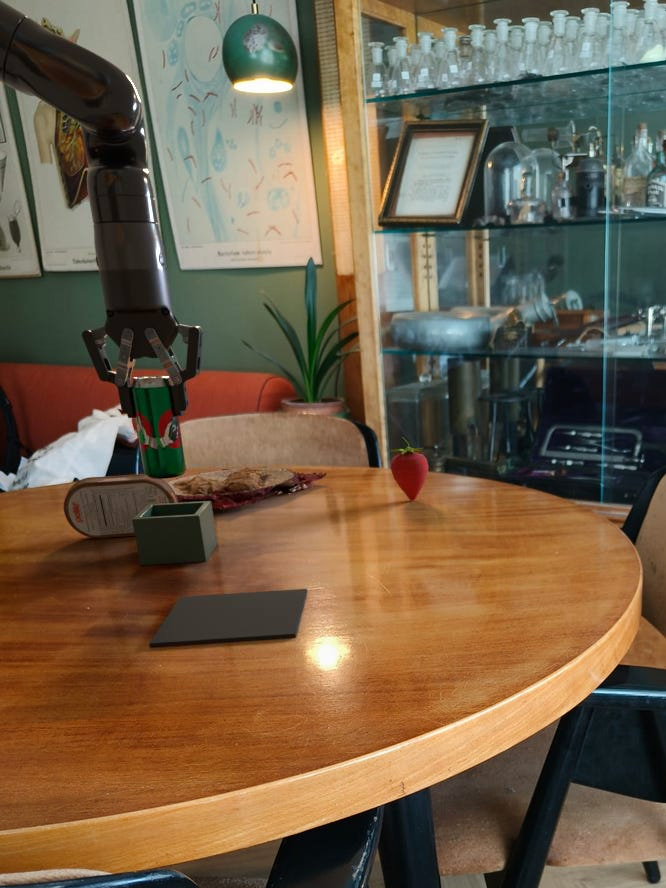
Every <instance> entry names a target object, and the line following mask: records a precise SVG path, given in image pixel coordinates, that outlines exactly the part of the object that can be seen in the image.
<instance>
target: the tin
mask: <svg viewBox="0 0 666 888" xmlns="http://www.w3.org/2000/svg"><path fill="white" fill-rule="evenodd" d="M164 503H178V500H177V496H176V494H175V492H174V490H173V489H172V487H171V486H170V485H169V484H168V481H166V480H164V479H153V478H150V477H148V476H147V475H146V474H145V473H144V474H143V473H142V474H141V473H140V474H125V475H109V476H90V477H85V478H82V479H80V480H77V481H76V482H75V483H73V484H72V485H71V486H70V488H69V489H68V491H67V493H66V496H65V497H64V501H63V513H64V517H65V519H66V520H67V522H68V524H69V525H70V527H72V529H73V530H75V532H77V533H79V534H81V535H82V536H85V537H87V538H92V539H110V538H120V537H135V533H134V528H133V523H132V519H133V518H134V517H135V516H136V515H137V514H138V513H139V512H140V511H142V510H143V509H144V508H145V507H146V506H147V505H148V504H164Z"/></svg>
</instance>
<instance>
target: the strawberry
mask: <svg viewBox="0 0 666 888" xmlns="http://www.w3.org/2000/svg"><path fill="white" fill-rule="evenodd" d="M401 438H402V439H403V440H404V441H405V442H406V443H407V447H405V448H404V449H403V448H396V449H389V452H391V453H392V452H394V453H398V454H396V455H394V456H393V457H392V459H391V460H390V471H391V474H392V477H393V480H394V481H395V483H396V484H397V486H398V487H399V488H400V490H401V491H402V492H403V493H404V494H405V496H406V497H407V498H408V499H409V501H413V502H414V501H415V500H417V498H418V496H419V494H420V492H421V490H422V489H423V487H424V484H425V483H426V480H427V478H428V472H429V463H428V459H427V458H426V457H425V456H424V454H421V453H423V449H424V447H415V448H413V447H410V443H409V441H408V440H406V439H405V438H404V436H401Z"/></svg>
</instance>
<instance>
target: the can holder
mask: <svg viewBox="0 0 666 888" xmlns="http://www.w3.org/2000/svg"><path fill="white" fill-rule="evenodd" d="M181 502H182V501H181ZM211 503H212V501H211V500H201V501H187V502H184V501H183V502H182V503H164V504H148V505H147V506H146V507H145V508H144V509H143V510H142V511H140V512H139V513H138V514H137V515H136V516H135V517H134V518H133V519H132V523H133V528H134V533H135V536H134V539H135V544H136V550H137V555H138V559H139V564H140V566H155V565H171V564H187V563H189V564H190V563H203V562H207V561H208V559H209V558H210V557H211V555H212V553H213V552H214V550H215V549H216V548H217V546H218V539H217V531H216V524H215V518H214V511H213V509H212V504H211Z"/></svg>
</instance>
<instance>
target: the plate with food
mask: <svg viewBox="0 0 666 888" xmlns="http://www.w3.org/2000/svg"><path fill="white" fill-rule="evenodd" d="M326 476H327V472H325V473H322V472H319V473H316V472H312V473H304V472H299V471H298V472H296V471H292V469H287V468H282V467H278V468H275V467H268V466H262V467H261V466H258V467H257V466H254V467H251V466H246V467H244V468H241V467H240V468H238V467H237V468H232V469H229V468H222V469H221V470H215V471H207V472H198V473H197V474H194V475H190V474H189V476H188V475H184V476H179V477H175V479H172V480H168V481H167V483H168V484H169V485H170V486H171V487H172V489H173V490H174V492H175V494H176V496H177V500H178V503H182V502H188V500H195V501H196V500H201V501H205V500H208V499H210V500H211V499H212V500H213V501H214V502H211V504H212V510H213V509H218V510H219V511H222V512H225V510H227V509H231V508H233V509H234V508H235V507H243V506H244V505H246V504H249V503H251V504H256V503H260V500H261V499H264V498H267V497H272V496H274V495H275V494H276V495H281V494H283V492H282V491H281V490H275V491H272V489H273V488H275V487H277V486H278V485H279V486H280V485H281V484H284V483H286V482H287V483H288V482H291V484H290V485H291V486H293V487H291V488H290V489H289V490H288V491H289V492H290V493H288V495H292V493H293V495H295V492H296V491H302V490H305V489H308V488H312V487H314V485H315V482H316V481H317V482H318V481H320V480H322V479H324V477H326ZM183 499H184V500H183Z"/></svg>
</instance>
